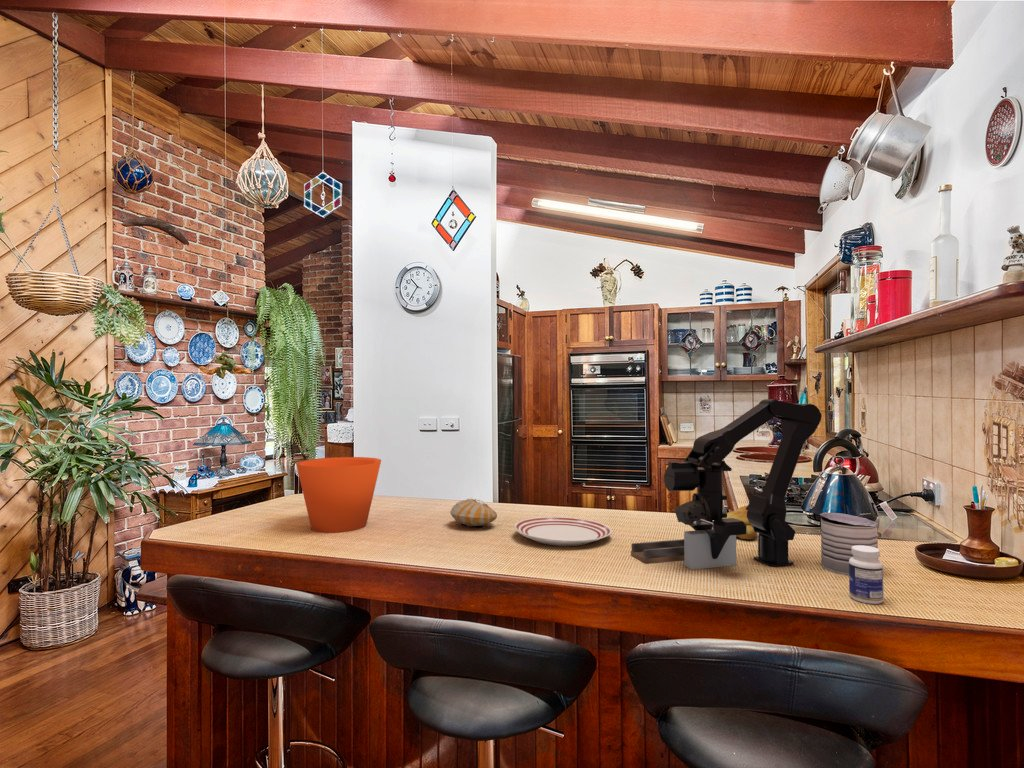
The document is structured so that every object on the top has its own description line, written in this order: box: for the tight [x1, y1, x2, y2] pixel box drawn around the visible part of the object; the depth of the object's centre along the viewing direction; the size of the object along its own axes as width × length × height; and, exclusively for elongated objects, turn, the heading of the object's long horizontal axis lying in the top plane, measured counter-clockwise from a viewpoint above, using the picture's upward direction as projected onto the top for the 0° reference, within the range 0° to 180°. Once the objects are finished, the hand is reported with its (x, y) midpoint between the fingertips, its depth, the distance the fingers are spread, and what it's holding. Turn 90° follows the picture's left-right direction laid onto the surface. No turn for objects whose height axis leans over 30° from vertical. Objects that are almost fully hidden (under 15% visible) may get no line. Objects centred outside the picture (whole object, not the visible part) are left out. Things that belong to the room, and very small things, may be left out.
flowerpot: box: [295, 456, 382, 534], centre depth 169 cm, size 25×25×20 cm
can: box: [818, 512, 879, 576], centre depth 127 cm, size 11×11×12 cm
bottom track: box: [630, 538, 684, 564], centre depth 137 cm, size 18×7×3 cm, turn 106°
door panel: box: [683, 529, 737, 570], centre depth 130 cm, size 12×3×8 cm, turn 106°
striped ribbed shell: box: [449, 498, 498, 527], centre depth 173 cm, size 8×22×15 cm
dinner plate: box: [513, 516, 613, 547], centre depth 156 cm, size 28×27×3 cm
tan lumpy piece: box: [722, 505, 758, 540], centre depth 157 cm, size 13×10×8 cm
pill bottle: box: [848, 545, 885, 605], centre depth 108 cm, size 6×6×10 cm
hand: (710, 556), depth 130 cm, fingers closed on door panel, 3 cm apart
